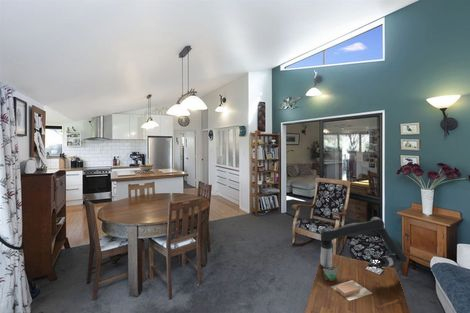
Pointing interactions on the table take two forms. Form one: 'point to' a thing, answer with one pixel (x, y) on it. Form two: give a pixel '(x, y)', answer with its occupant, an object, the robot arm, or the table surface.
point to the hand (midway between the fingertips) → (368, 265)
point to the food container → (330, 273)
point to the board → (356, 295)
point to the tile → (347, 289)
